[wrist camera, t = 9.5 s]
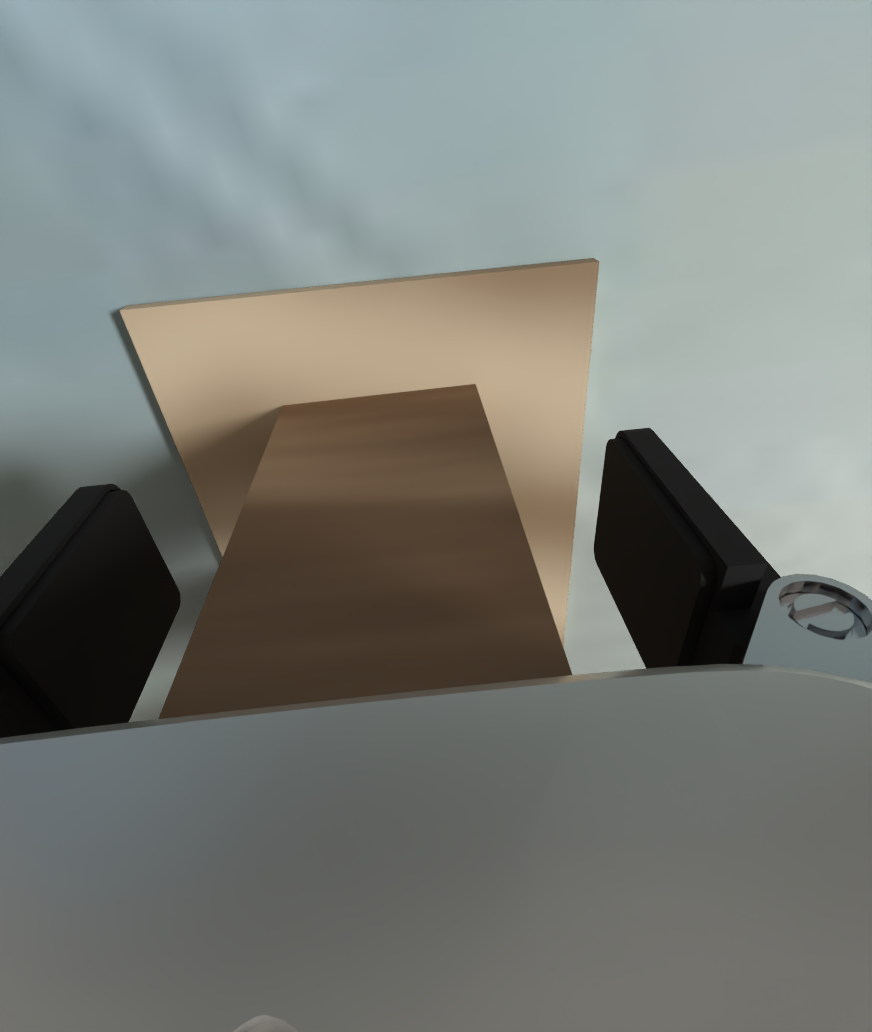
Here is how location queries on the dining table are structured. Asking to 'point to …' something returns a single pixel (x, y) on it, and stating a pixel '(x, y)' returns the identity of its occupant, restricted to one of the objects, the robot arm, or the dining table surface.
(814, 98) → the dining table surface
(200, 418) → the light wooden board
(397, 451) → the domino
